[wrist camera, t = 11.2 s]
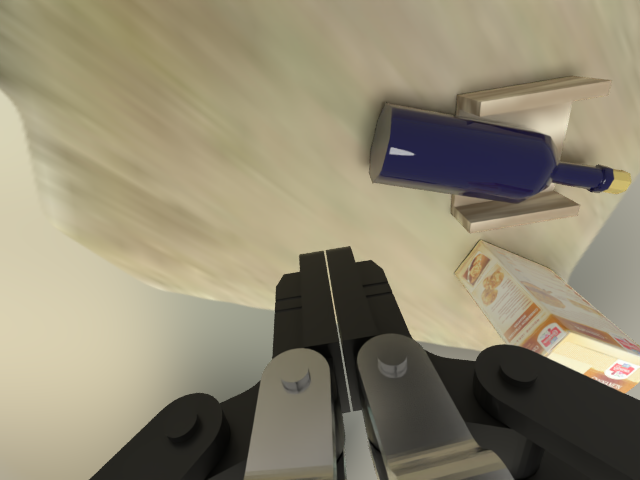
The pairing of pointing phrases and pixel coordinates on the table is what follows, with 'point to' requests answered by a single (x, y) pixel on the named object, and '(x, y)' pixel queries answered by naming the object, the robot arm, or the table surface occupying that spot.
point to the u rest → (535, 113)
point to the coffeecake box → (548, 316)
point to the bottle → (475, 158)
